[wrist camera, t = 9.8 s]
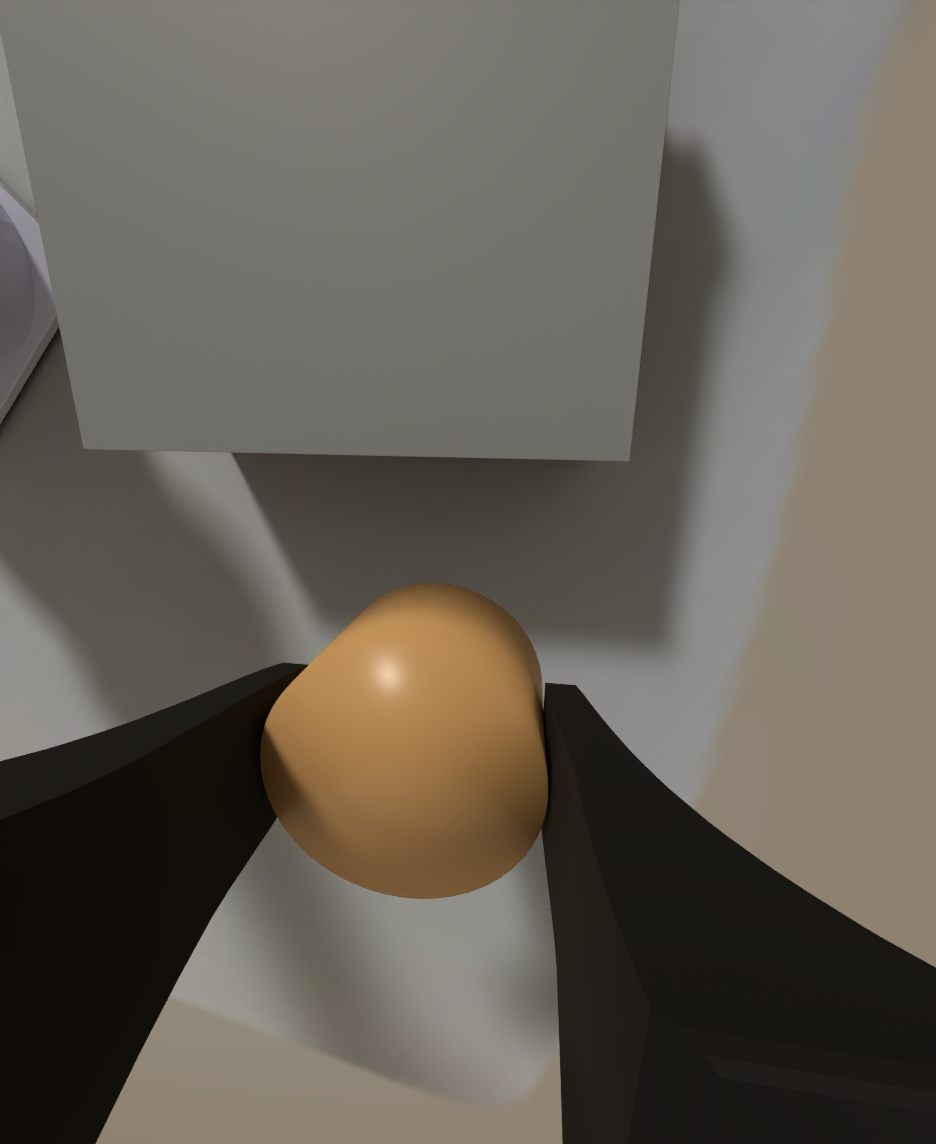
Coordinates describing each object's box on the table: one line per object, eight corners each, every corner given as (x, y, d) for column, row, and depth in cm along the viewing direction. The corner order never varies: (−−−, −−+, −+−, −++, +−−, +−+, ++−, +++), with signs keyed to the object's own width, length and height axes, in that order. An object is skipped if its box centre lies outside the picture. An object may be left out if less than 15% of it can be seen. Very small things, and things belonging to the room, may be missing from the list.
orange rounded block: (437, 802, 12) (403, 939, 9) (299, 671, 12) (206, 763, 8) (586, 693, 11) (612, 805, 7) (437, 539, 10) (393, 585, 7)
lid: (621, 458, 13) (642, 461, 11) (150, 448, 15) (73, 449, 12) (689, -202, 10) (746, -429, 7) (59, -115, 11) (-75, -274, 9)
